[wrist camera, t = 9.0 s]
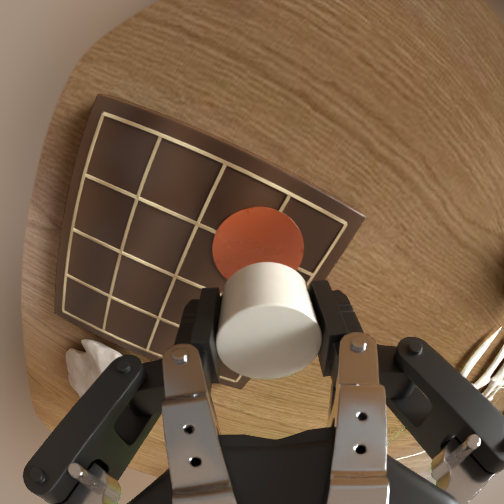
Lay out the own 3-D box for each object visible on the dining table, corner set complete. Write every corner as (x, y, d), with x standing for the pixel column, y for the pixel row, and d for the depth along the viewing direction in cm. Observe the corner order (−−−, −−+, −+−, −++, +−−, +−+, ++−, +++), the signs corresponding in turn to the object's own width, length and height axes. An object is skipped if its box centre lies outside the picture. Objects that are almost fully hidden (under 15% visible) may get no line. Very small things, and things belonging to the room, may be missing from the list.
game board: (61, 303, 21) (53, 314, 20) (107, 94, 14) (96, 93, 13) (241, 377, 25) (241, 390, 24) (358, 209, 18) (367, 217, 17)
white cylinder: (207, 315, 13) (199, 362, 11) (244, 246, 12) (243, 287, 9) (281, 342, 14) (287, 388, 11) (326, 282, 13) (343, 326, 10)
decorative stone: (79, 309, 22) (69, 376, 29) (55, 335, 19) (54, 396, 25) (181, 376, 23) (140, 422, 30) (167, 409, 20) (129, 444, 27)
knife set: (553, 316, 26) (556, 320, 25) (454, 439, 41) (456, 443, 40) (481, 320, 23) (486, 326, 22) (361, 464, 39) (362, 469, 38)
